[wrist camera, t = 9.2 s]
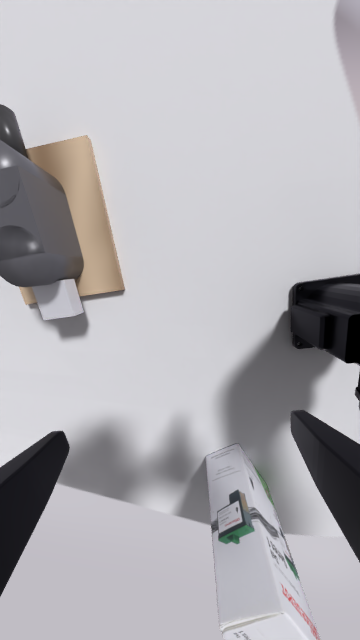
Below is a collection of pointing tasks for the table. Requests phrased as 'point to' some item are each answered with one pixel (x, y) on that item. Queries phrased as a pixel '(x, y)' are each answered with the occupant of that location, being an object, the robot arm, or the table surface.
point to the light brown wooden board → (82, 213)
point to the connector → (36, 228)
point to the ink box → (252, 556)
